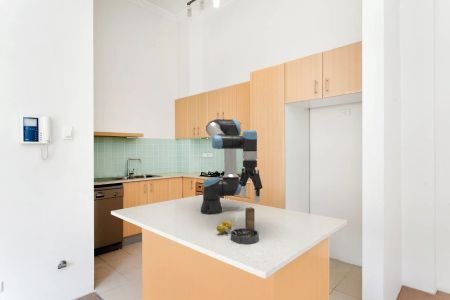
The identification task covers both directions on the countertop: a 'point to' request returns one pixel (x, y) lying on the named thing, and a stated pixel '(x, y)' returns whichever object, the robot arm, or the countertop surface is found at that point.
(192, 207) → the countertop surface
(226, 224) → the pressure relief valve
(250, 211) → the wooden beam block
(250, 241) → the tin
